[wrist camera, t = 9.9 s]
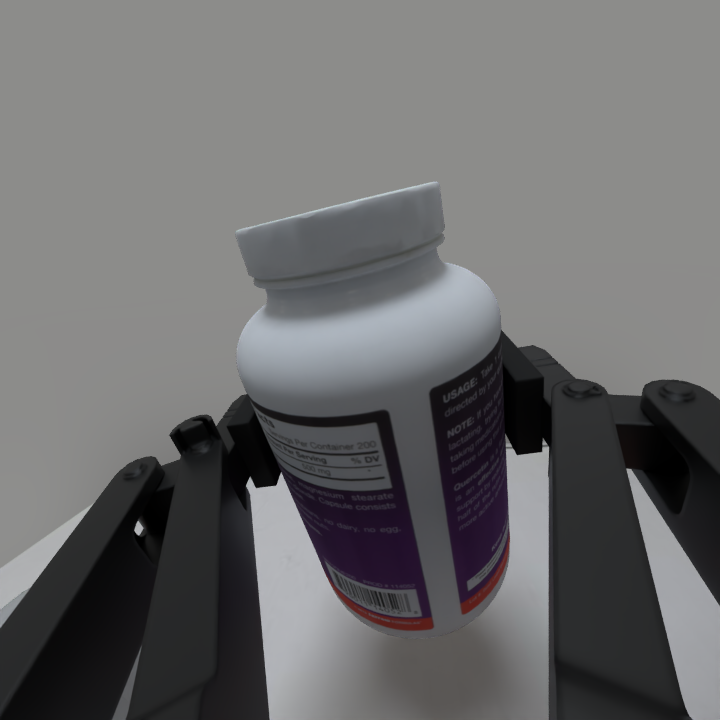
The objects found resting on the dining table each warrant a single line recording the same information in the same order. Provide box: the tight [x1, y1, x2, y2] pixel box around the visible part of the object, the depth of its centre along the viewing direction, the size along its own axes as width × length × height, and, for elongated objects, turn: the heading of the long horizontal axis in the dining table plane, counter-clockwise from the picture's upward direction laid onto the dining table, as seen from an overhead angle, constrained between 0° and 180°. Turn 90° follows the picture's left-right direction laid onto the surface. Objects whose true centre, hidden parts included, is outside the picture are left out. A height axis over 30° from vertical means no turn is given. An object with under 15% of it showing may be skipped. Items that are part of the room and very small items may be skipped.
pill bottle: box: [235, 182, 510, 639], centre depth 12 cm, size 8×8×14 cm
